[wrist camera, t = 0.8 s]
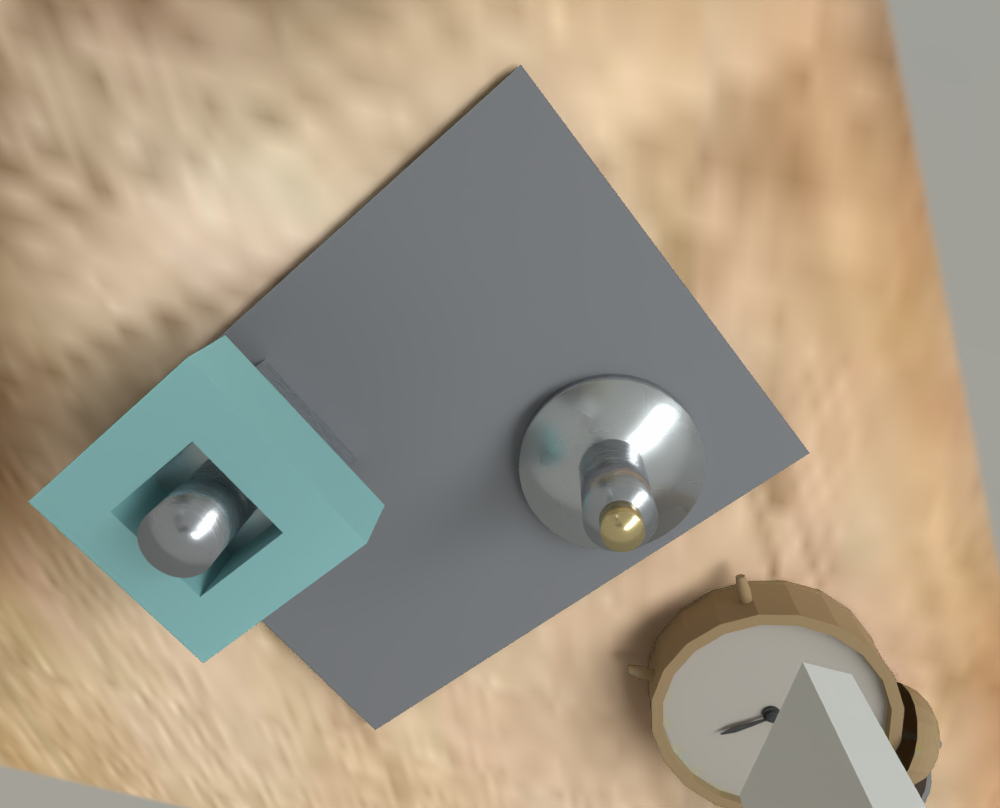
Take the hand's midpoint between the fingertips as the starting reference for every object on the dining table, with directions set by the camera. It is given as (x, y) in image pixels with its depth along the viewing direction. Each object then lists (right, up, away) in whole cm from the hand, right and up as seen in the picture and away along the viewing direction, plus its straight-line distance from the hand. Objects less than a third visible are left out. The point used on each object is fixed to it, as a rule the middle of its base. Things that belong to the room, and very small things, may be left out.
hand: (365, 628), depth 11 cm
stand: (-9, +1, +22) cm, 24 cm away
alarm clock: (+16, -11, +26) cm, 33 cm away
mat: (-1, +2, +22) cm, 23 cm away
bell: (+7, +1, +21) cm, 22 cm away
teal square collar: (-9, 0, +18) cm, 21 cm away
